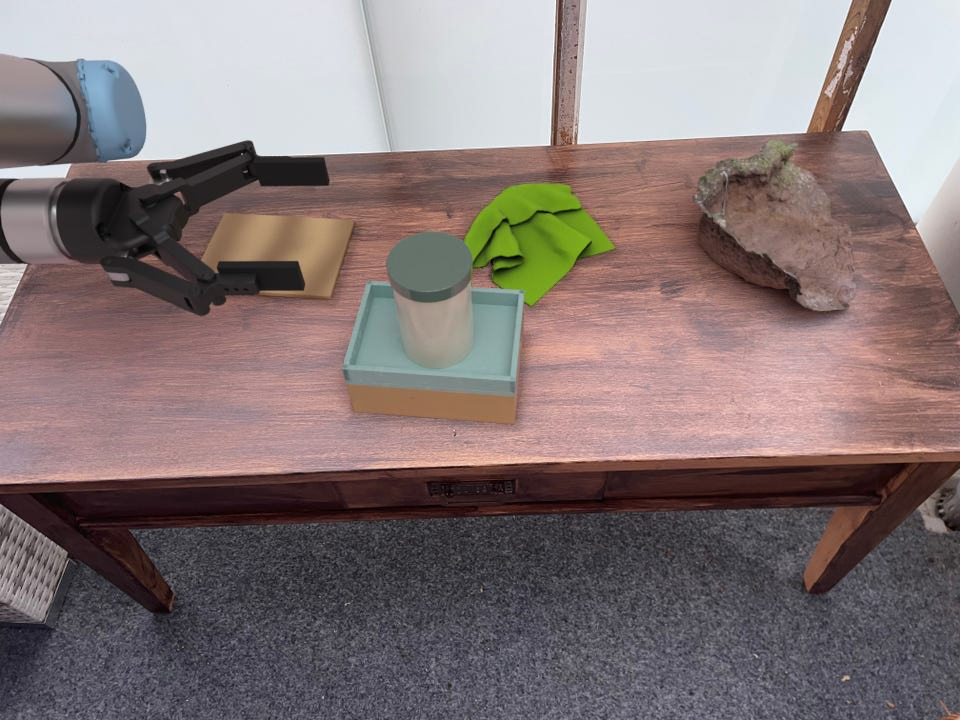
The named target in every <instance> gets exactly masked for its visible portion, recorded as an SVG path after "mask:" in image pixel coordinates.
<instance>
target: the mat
mask: <svg viewBox="0 0 960 720" xmlns="http://www.w3.org/2000/svg"><path fill="white" fill-rule="evenodd" d="M355 227H356V220H355V219H346V218H329V217H326V218H325V217H309V216H291V215H289V216H288V215H272V214H271V215H270V214H253V213H251V214H249V213H235V212H233V213H232V212H223V215H222V217H221V219H220V220H219V223H218V225H217V227H216V229H215V231H214V232H213V235H212V238H211V239H210V241H209V243H208V245H207V246H206V249H205V251H204V253H203V255H202V257H201V259H200V260H201V261H202V262H204V263H205V264H206V265H208V266H209V267H210V268H211V269H213V270H214V272H215V273H219V272H218V270H217V265H218V262H219V261H298V262H299V265H300V268H301V272H302V275H303V278H304V281H305V288H304V291H260V293H259V294H256V295H255V296H265V297H266V296H269V297H284V298H299V299H315V300H332V298H333V294H334V291H335V289H336V288H335V287H336V284H337V282H338V280H339V276H340V272H341V270H342V266H343V263H344V260H345V257H346V254H347V251H348V247H349V245H350V243H351V242H350V241H351V239H352V237H353V233H354V229H355Z"/></svg>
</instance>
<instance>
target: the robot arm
mask: <svg viewBox="0 0 960 720" xmlns="http://www.w3.org/2000/svg"><path fill="white" fill-rule="evenodd" d="M146 139H147V118H146V112H145V107H144V103H143V98H142V96H141V93H140V90H139V88H138V86H137V84H136V82H135V80H134V78H133V77H132V75H131V74H130V73H129V71H128V70H127V69H126V68H125V67H124V66H122V65H121V64H119V63H118V62H117V61H113V60H111V59H109V60H108V59H99V60H93V59H92V60H86V59H85V58H77V59H76V60H69V61H48V60H41V59H37V58H29V57H19V56H17V55H16V56H15V55H10V54H4V53H0V170H5V169H15V168H17V169H18V168H26V167H27V168H28V167H47V166H58V165H59V166H60V165H73V164H89V163H92V164H93V163H99V164H101V163H102V164H104V163H105V164H106V163H108V162H111V161H118V160H127V159H128V160H129V159H133V158H134V157H137V156H138V155H139V154H140V152H141V151H142V149H143V148H144V146H145V143H146ZM146 170H147V172H148V174H149V176H150V177H149V181H148V183H146V184H143V185H139V186H129V185H127V184H126V183H123V182H122V181H120V180H118V179H116V178H112V177H75V178H67V177H64V176H63V177H27V178H26V177H25V178H15V177H13V178H12V177H11V178H10V177H9V178H8V177H7V178H4V177H3V178H1V177H0V265H75V264H79V263H80V264H82V265H100V266H101V268H102V269H103V271H104V272H105V274H106V275H107V277H108V279H109V281H110V283H111V284H112V285H113V287H118V288H128V289H129V288H130V289H136V290H139V291H141V292H144V293H146V294H148V295H150V296H153V297H155V298H157V299H159V300H162V301H164V302H166V303H168V304H171V305H173V306H175V307H178V308H180V309H181V310H184V311H187V312H189V313H191V314H194V315H196V316H198V317H205V316H207V315H209V313H210V312H211V305H213V306H215V307H220V306H223V305H225V303H226V302H227V296H229V297H231V296H238V297H239V296H241V297H242V296H243V297H244V296H245V297H246V296H248V297H249V296H250V297H251V296H252V297H253V296H257V295H256V294H259V293H260V291H304V288H305V281H304V278H303V275H302V272H301V268H300V265H299V262H298V261H219V262H218V265H217V270H218V272H219V273H215V272H214V270H213V269H211V268H210V267H209V266H208V265H206V264H205V263H204V262H202V261H201V259H200V258H199V257H197V256H196V255H195V254H193V253H192V252H191V251H189V250H188V249H187V248H186V247H184V246H183V245H182V244H181V243H179V242H180V241H181V239H182V236H183V229H184V228H185V227H186V225H187V224H188V222H189V220H190V218H191V217H193V216H195V215H197V214H198V213H199V212H200V208H201V207H204V206H206V205H208V204H210V203H212V202H214V201H216V200H218V199H221V198H222V197H225V196H227V195H229V194H232V193H233V192H235V191H238V190H240V189H242V188H244V187H245V186H248V185H250V184H253V183H255V182H256V181H258V183H259V186H260V187H329V185H330V183H331V182H330V176H329V172H328V168H327V162H326V159H325V156H299V157H297V156H296V157H295V156H293V157H292V156H289V155H258V153H257V151H256V148H255V145H254V142H253V141H252V140H250V139H249V140H248V139H246V140H242V141H239V142H235V143H232V144H228V145H224V146H222V147H217V148H213V149H210V150H207V151H203V152H200V153H195V154H193V155H189V156H185V157H182V158H177V159H175V160H170V161H158V162H157V161H155V162H151V163H149V164H148V165H147V166H146ZM179 192H180V195H181V197H182V199H181V198H180V197H179V196H177V195H176V194H178V193H179ZM149 256H154V257H155V258H156V259H157V260H159V261H160V262H161V263H162V264H164V265H165V266H167V267H171V269H173V270H174V272H177V273H178V274H179V275H180V276H182V277H183V278H182V277H180V276H177V275H175V274H173V273H170V272H168V271H165V270H163V269H160V268H158V267H157V266H153V265H151V264H148V263H147V262H144V261H141V260H142V259H144V258H146V257H149Z"/></svg>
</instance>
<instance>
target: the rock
mask: <svg viewBox="0 0 960 720" xmlns="http://www.w3.org/2000/svg"><path fill="white" fill-rule="evenodd" d="M797 147H799V144H798V143H796V142H795V143H790V144H785V142H784V141H782V140H779V139H771V140H769V141H768V142H767V143H766V142H765V143H763V145H762V146H761V147H760V148H759V153H757V154H753V155H751V156H749V157H747V156H746V157H744V158H743V157H742V158H737V157H732V158H726V159H721V160H720V161H717V162H716V164H715V165H714V166H711V168H709V169H706V170H705V172H704V173H705V175H702V176H700V178H699V180H697V184H696V185H697V186H696V187H697V190H696V192H697V193H695V194H694V195H692V199H693V201H692V202H694V204H697V207H698V208H699V209H700V210H701V212H702V215H701V218H700V220H699V222H698V227H697V231H696V232H697V233H696V240H697V242H698V243H699V244H700V245H701V248H702V250H703V251H704V252H705V253H707V254H708V256H709V257H710V258H711V259H712V260H713V262H715V263H716V264H717V265H719V266H721V267H722V268H724V269H726V270H727V271H728V272H730V273H732V274H736V275H738V276H739V277H741V278H743V279H744V281H745V282H748V283H751V284H755V285H757V286H759V287H765V288H766V287H768V288H769V287H770V288H773V289H775V290H784V289H788V293H789V296H790V298H791V299H792V300H794V301H795V302H796V303H798V304H799V305H801V306H802V307H804V308H806V309H810V310H812V311H817V312H831V311H837V310H839V311H842V310H847V309H848V308H850V306H851V305H850V304H849V302H850V301H851V300H852V299H853V298H854V297H856V290H857V287H858V284H857V279H856V275H855V270H856V264H855V257H854V253H853V245H854V241H853V231H852V226H850V224H848V223H847V222H841V221H837V220H836V219H835V218H834V217H832V215H831V214H832V210H831V206H832V205H831V203H832V202H831V199H830V197H828V196H827V193H826V191H825V190H824V189H823V188H822V185H820V184H819V182H818V180H817V178H816V177H815V175H814V173H812V172H811V171H810V170H808V169H804V168H803V167H801V166H799V165H797V164H795V163H793V162H790V161H789V160H790V159H791V158H794V157H793V156H794V153H793V152H796V151H797V149H796V148H797Z"/></svg>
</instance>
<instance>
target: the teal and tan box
mask: <svg viewBox="0 0 960 720" xmlns="http://www.w3.org/2000/svg"><path fill="white" fill-rule="evenodd" d="M524 296H525V290H512V289H502V288H494V287H478V286H472V301H473V320H474V345H473V348H472V350H471V352H470V353H469V354H468V356H467V357H466V358H465V359H463V360H462V361H461V362H459V363H457V364H455V365H453V366H450V367H446V368H438V369H435V368H427V367H423V366H420V365H418V364H416V363H414V362H413V361H411V360H410V359H409V358H408V357H407V355H406V354H405V352H404V350H403V347H402V341H401V335H400V330H399V324H398V318H397V313H396V307H395V301H394V295H393V290H392V286H391V285H390V282H389V281H380V280H379V281H378V280H377V281H376V280H367V281H366V283H365V287H364V289H363V294H362V297H361V301H360V305H359V308H358V310H357V315H356V317H355V321H354V324H353V328H352V332H351V334H350V335H351V336H350V339H349V341H348V342H349V343H348V345H347V346H348V347H347V349H346V353H345V356H344V360H343V363H342V366H341V371H342V374H343V377H344V381H345V384H346V388H347V391H348V394H349V397H350V403H351V405H352V408H353V412H354V413H362V414H363V413H366V414H375V415H377V414H379V415H388V416H389V415H391V416H404V417H417V418H427V419H428V418H429V419H441V420H453V421H455V420H456V421H467V422H479V423H480V422H481V423H492V424H493V423H494V424H509V425H515V424H516V417H517V407H518V405H517V404H518V395H519V385H520V376H521V375H520V374H521V364H522V355H523V354H522V353H523V345H524V344H523V343H524V341H523V340H524V324H525V323H524V322H525V302H524Z"/></svg>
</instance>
